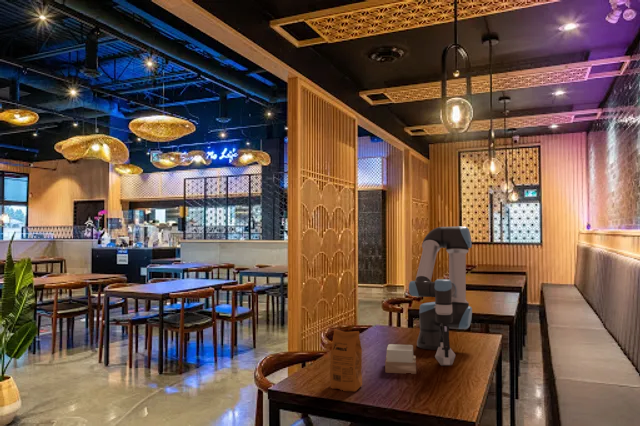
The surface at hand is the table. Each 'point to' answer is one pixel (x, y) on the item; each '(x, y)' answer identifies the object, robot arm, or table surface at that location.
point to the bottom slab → (400, 367)
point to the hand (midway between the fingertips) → (445, 360)
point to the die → (440, 356)
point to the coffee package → (346, 361)
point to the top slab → (400, 353)
